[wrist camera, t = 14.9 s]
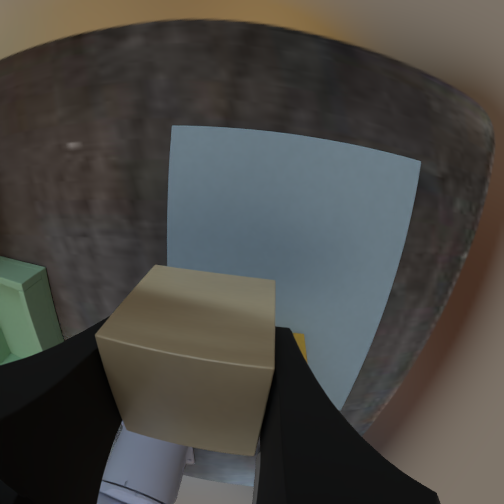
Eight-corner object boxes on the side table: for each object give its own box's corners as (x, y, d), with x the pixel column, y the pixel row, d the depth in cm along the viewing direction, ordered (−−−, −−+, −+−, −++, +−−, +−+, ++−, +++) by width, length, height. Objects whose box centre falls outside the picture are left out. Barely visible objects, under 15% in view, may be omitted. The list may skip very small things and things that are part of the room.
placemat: (340, 405, 21) (340, 410, 21) (177, 388, 22) (175, 392, 21) (417, 160, 14) (421, 161, 14) (174, 126, 14) (171, 125, 14)
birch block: (261, 369, 11) (254, 456, 7) (162, 354, 11) (126, 430, 7) (275, 279, 9) (275, 368, 5) (155, 263, 9) (93, 334, 6)
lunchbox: (45, 266, 19) (21, 284, 16) (79, 382, 23) (66, 403, 20) (-20, 250, 19) (-40, 261, 16) (12, 352, 24) (-1, 366, 21)
